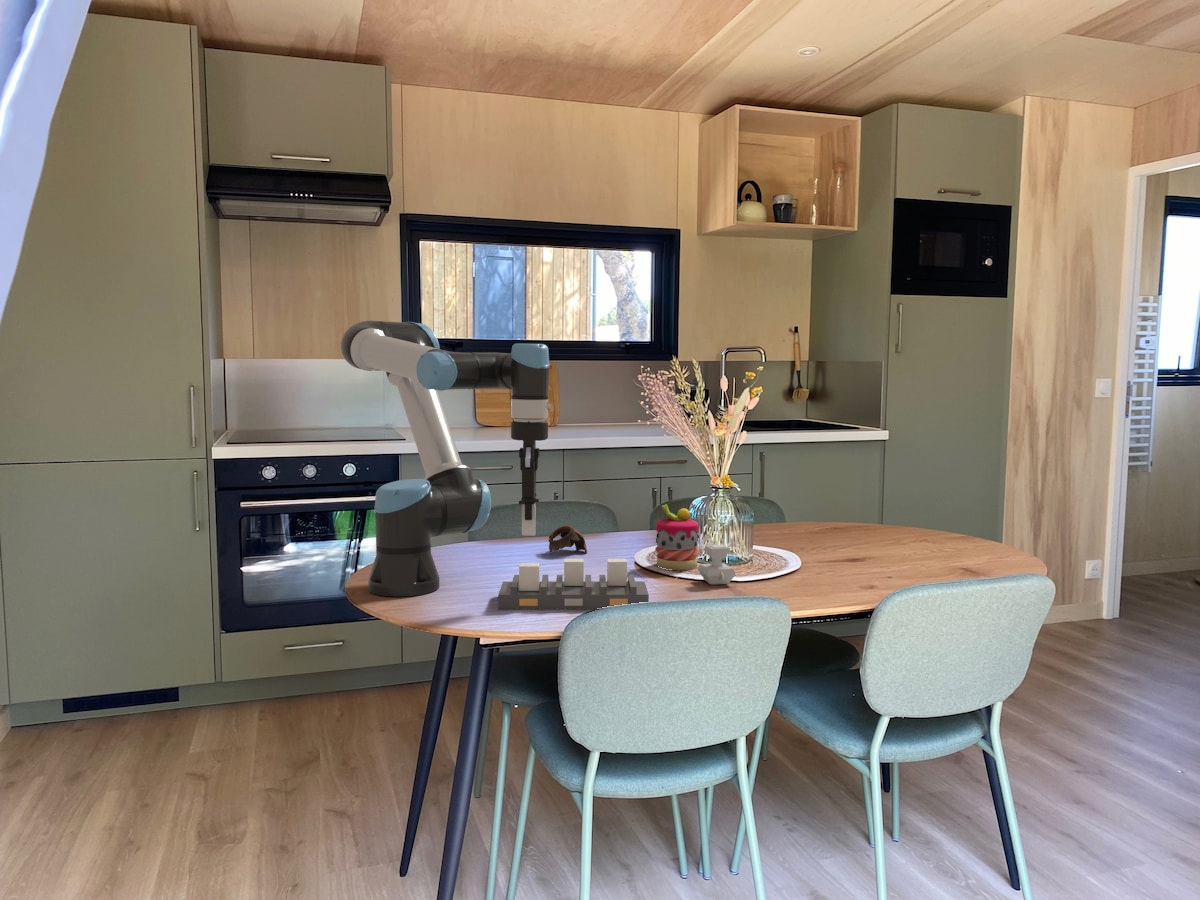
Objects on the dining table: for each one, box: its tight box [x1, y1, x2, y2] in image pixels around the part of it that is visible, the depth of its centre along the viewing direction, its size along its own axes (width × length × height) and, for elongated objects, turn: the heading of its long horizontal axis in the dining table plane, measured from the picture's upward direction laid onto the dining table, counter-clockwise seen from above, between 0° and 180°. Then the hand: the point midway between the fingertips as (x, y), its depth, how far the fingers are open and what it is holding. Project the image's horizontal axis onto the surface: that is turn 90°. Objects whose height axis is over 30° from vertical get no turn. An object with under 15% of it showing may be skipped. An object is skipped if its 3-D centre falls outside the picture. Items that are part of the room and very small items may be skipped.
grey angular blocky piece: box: [697, 544, 736, 586], centre depth 200 cm, size 9×7×8 cm
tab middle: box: [563, 558, 585, 586], centre depth 185 cm, size 4×3×5 cm
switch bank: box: [497, 574, 650, 610], centre depth 183 cm, size 30×11×4 cm, turn 91°
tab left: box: [518, 562, 541, 591], centre depth 181 cm, size 4×3×5 cm
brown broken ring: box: [548, 525, 588, 555], centre depth 233 cm, size 12×10×8 cm
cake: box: [654, 503, 700, 571], centre depth 217 cm, size 10×11×15 cm
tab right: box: [606, 558, 628, 586], centre depth 186 cm, size 4×3×5 cm
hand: (528, 534), depth 183 cm, fingers closed
